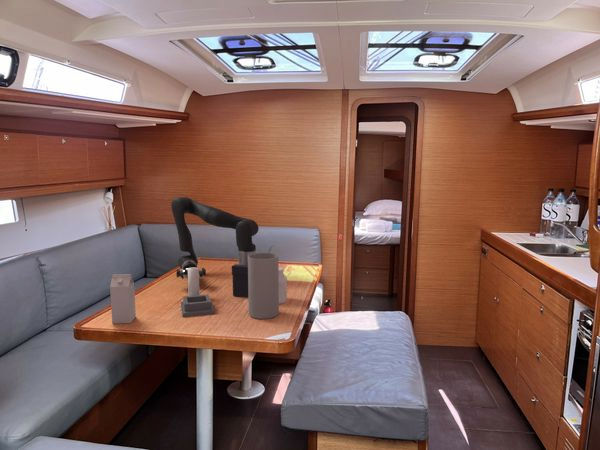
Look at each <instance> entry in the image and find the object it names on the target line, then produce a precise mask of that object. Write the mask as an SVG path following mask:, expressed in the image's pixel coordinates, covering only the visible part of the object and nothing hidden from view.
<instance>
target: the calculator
mask: <svg viewBox="0 0 600 450" xmlns="http://www.w3.org/2000/svg"><path fill="white" fill-rule="evenodd" d="M231 275H232V297H238V298H247V299H249V298H248V265H239V264H237V263H236V264H235V263H234V264H233V265H231Z"/></svg>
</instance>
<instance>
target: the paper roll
mask: <svg viewBox="0 0 600 450" xmlns="http://www.w3.org/2000/svg"><path fill="white" fill-rule="evenodd" d="M199 270H200V269H199V267H197V268H196V267H193V268H188V277H187V284H188V285H187V286H188V287H187V289H188V290H187V292H188V293H187V294H188V296H197V295H201V294H200V276H199Z"/></svg>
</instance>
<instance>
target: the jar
mask: <svg viewBox="0 0 600 450" xmlns="http://www.w3.org/2000/svg"><path fill="white" fill-rule="evenodd" d="M287 284H288V278H287V277H286V276H285V273H284V267H281V266H279V305H280V304H284V303H286V302H287V301H288V290H287V289H288V287H287V286H288V285H287Z"/></svg>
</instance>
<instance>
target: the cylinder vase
mask: <svg viewBox="0 0 600 450" xmlns="http://www.w3.org/2000/svg"><path fill="white" fill-rule="evenodd" d="M279 264H280V263H279V254H277V253H272V252H269V253H268V252H256V253H254V254H250V255H248V298H247V299H248V315H249V316H250V317H251V318H253V319H256V320H258V319H259V320H269V319H272V318H276V317H277V316H278V315H279V313H280V304H279V267H280V266H279Z"/></svg>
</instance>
